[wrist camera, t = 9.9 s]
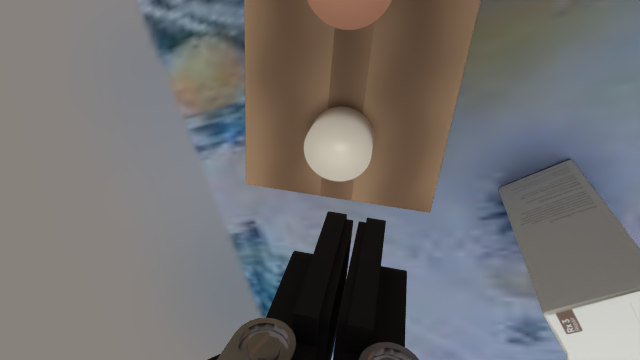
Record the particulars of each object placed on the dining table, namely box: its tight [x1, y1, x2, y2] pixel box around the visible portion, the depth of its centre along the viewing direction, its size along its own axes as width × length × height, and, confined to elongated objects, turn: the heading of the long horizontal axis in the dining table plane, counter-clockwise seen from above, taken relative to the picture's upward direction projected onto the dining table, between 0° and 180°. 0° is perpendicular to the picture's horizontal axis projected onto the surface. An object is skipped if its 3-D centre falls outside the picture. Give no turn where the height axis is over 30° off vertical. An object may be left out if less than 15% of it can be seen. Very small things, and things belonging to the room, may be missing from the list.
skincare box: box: [499, 160, 640, 360], centre depth 28 cm, size 8×6×15 cm
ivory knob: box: [304, 106, 374, 181], centre depth 30 cm, size 4×4×6 cm
